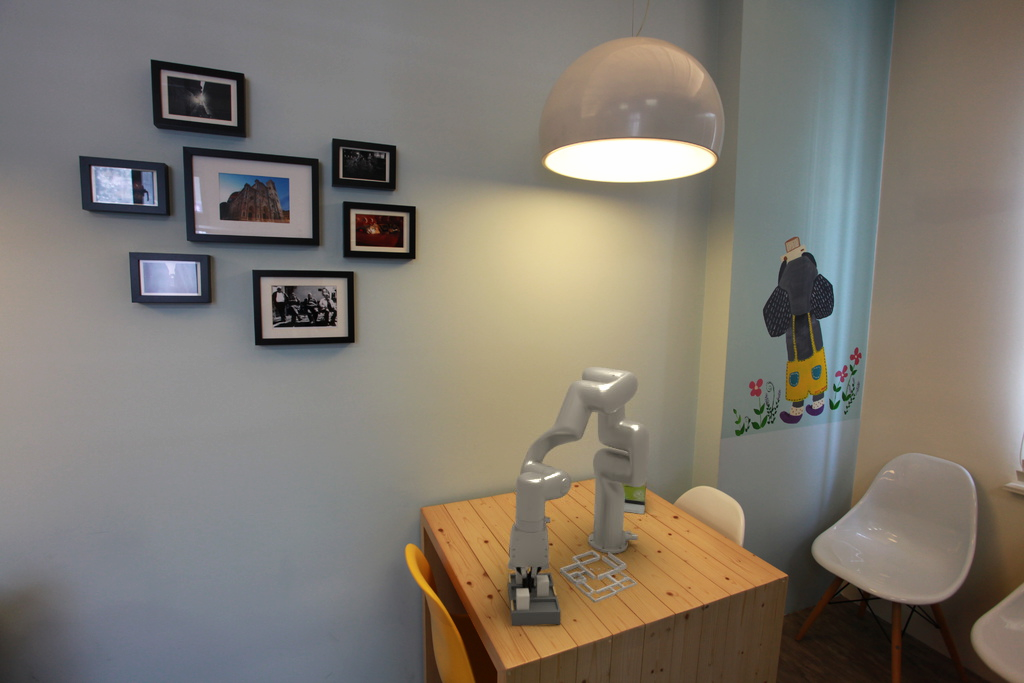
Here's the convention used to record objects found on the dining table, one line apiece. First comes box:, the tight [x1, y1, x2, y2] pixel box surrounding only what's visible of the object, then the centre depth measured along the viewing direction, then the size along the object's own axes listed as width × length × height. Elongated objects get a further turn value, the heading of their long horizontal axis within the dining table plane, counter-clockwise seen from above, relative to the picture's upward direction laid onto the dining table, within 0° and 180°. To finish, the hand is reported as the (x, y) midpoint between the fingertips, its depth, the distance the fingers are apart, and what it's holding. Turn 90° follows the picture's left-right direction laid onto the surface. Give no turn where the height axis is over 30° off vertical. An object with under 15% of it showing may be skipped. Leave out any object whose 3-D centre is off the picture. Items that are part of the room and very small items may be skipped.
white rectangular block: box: [515, 567, 529, 584], centre depth 125 cm, size 3×3×4 cm
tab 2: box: [516, 588, 530, 610], centre depth 114 cm, size 3×3×4 cm
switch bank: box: [507, 572, 562, 626], centre depth 120 cm, size 12×16×4 cm
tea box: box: [622, 480, 648, 515], centre depth 178 cm, size 15×10×15 cm, turn 77°
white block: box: [536, 575, 549, 597], centre depth 120 cm, size 3×3×4 cm
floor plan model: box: [559, 549, 637, 603], centre depth 136 cm, size 19×25×2 cm
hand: (527, 589), depth 119 cm, fingers closed
